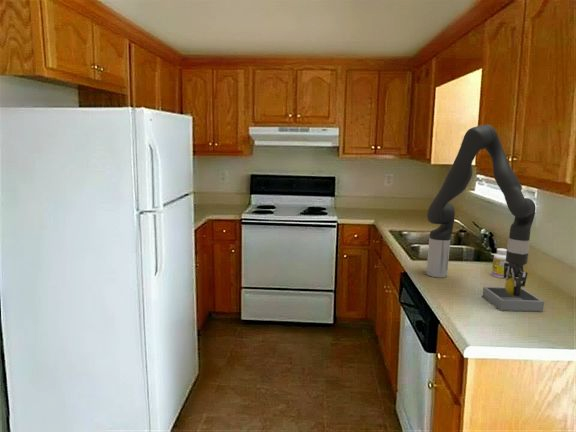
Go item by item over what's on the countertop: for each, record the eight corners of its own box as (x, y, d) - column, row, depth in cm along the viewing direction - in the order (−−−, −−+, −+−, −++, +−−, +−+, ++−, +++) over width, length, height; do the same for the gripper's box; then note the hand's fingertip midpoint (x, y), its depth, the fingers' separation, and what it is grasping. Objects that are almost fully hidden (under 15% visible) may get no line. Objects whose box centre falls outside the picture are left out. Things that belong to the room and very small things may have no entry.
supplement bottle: (490, 273, 230) (493, 247, 227) (504, 274, 229) (507, 248, 226) (493, 277, 223) (496, 250, 221) (508, 278, 222) (512, 251, 220)
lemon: (522, 297, 188) (524, 277, 186) (516, 300, 184) (519, 279, 182) (507, 293, 191) (509, 273, 190) (501, 296, 187) (504, 276, 186)
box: (482, 296, 195) (483, 286, 195) (521, 297, 196) (522, 288, 195) (500, 310, 180) (501, 300, 179) (542, 311, 180) (544, 301, 180)
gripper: (499, 245, 191) (494, 286, 194) (517, 255, 177) (511, 299, 180) (517, 246, 192) (512, 287, 194) (537, 255, 177) (531, 299, 180)
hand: (512, 292), depth 187 cm, fingers closed on lemon, 5 cm apart
